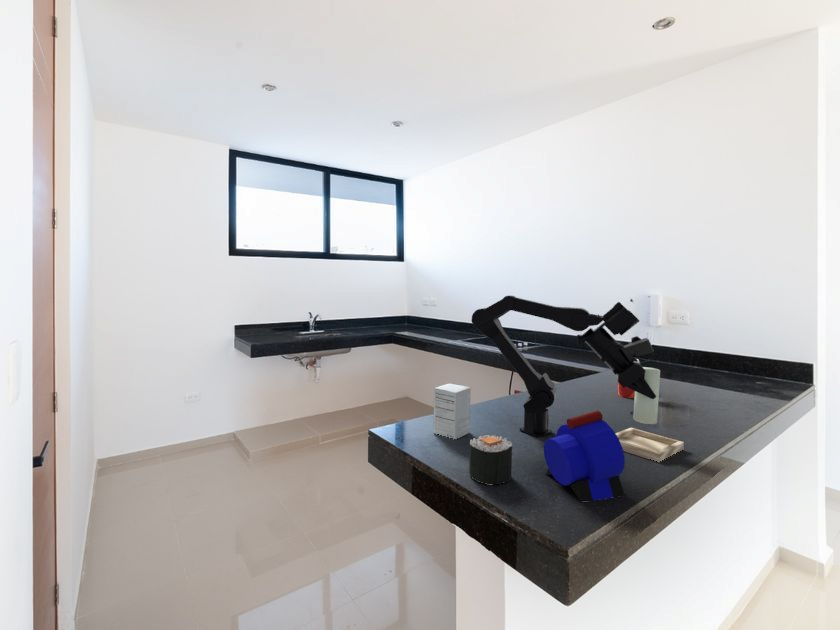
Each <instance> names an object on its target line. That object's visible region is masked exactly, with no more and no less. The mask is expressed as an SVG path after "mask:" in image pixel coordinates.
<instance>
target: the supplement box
mask: <svg viewBox="0 0 840 630" xmlns="http://www.w3.org/2000/svg"><path fill="white" fill-rule="evenodd" d="M471 388H472V387H470V386H466V385H460V384H454V383H446V384H442V385H440V386H436V387H434V388H433V434H434V433H436V434H435V435H437V434H439V435H438V436H440V435H442V436H441V437H443V436H446V437H445V438H447V437H449V438H448V439H450V438H453V439H452V440H454V439H456V440H458V439H460V438H461V437H463V436H465V435H468V434H470V433H471V391H472V390H471ZM457 438H458V439H457Z"/></svg>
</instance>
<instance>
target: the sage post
mask: <svg viewBox="0 0 840 630" xmlns="http://www.w3.org/2000/svg"><path fill="white" fill-rule="evenodd" d="M642 367H643V368H644V369H645V380H646V382H647V383H648V385H649V386H650V388H651V389H652V391H653V392H654V394H655V395H656V398H654V399H651V398H649V397H647V396H645V395H643V394H640V393H638V392H636V391H635V398H633V399H634V402H633V418H632V420H633V421H635V422H638V423H641V424H645V425H655V424H658V413H659V412H658V410H659V397H660V395H659V394H660V383H661V382H660V381H661V379H660V378H661V370H660V368H659V369H658V368H656V367H655V368H654V367H647V366H642Z"/></svg>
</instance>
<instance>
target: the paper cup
mask: <svg viewBox="0 0 840 630" xmlns="http://www.w3.org/2000/svg"><path fill="white" fill-rule="evenodd" d="M636 359H637V360H638V361H637V362H636V363H640V364H641V362H640V360H639V359H638V358H636ZM634 362H635V361H634ZM617 392H618V397H620V398H624V399H625V398H626V399H635V391H634V390H632V389H630V388H627V387H624V388H623V386H622V385H621V384H620V383H619V382H618V381H617Z"/></svg>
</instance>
